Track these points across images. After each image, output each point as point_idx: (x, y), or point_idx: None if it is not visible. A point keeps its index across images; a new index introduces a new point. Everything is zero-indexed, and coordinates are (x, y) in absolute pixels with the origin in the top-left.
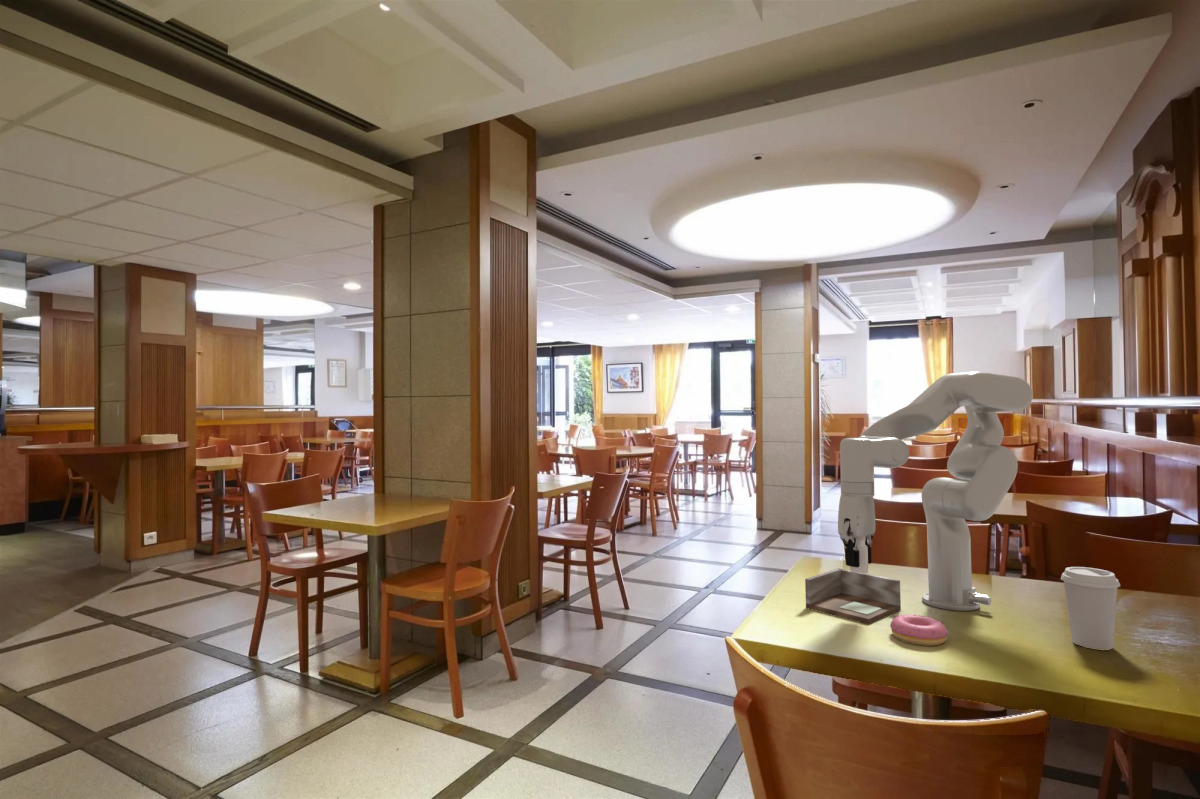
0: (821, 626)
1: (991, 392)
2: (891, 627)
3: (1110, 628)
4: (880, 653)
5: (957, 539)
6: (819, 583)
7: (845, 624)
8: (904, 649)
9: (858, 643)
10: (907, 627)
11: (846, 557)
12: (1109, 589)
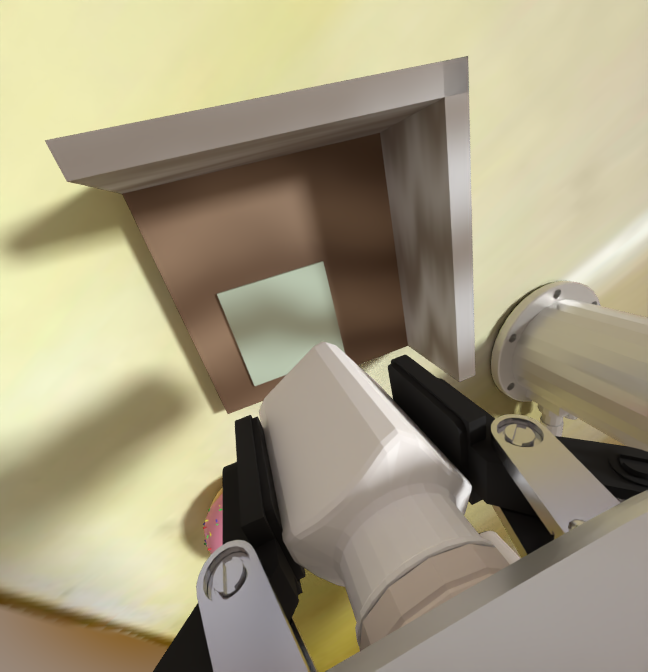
0: (45, 378)
1: None
2: (212, 507)
3: None
4: (95, 564)
5: None
6: (202, 160)
7: (154, 385)
8: (177, 548)
9: (80, 511)
10: None
11: (239, 462)
12: None
